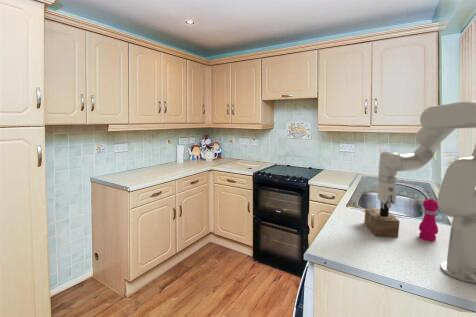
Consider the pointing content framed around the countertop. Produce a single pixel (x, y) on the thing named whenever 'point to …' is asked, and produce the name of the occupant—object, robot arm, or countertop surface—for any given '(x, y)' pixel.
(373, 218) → the socket block
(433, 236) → the pepper mill
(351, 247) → the countertop surface
